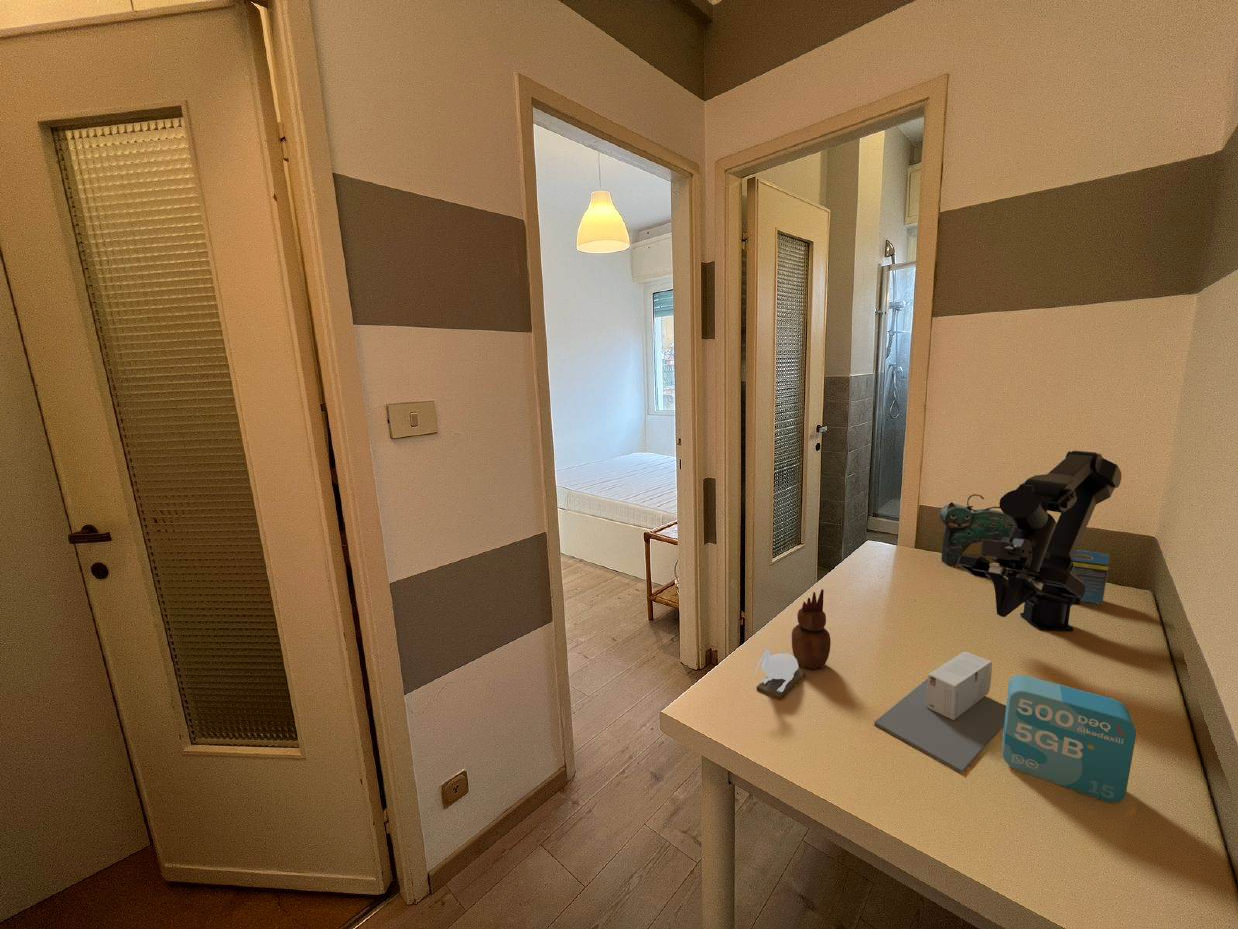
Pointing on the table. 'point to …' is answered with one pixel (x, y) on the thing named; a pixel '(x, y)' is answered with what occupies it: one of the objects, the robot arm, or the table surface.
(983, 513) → the ceramic cat
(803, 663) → the wooden figurine
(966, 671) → the skincare box
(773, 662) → the figurine
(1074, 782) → the data package
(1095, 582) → the label tape box
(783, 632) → the table surface
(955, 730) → the mat
